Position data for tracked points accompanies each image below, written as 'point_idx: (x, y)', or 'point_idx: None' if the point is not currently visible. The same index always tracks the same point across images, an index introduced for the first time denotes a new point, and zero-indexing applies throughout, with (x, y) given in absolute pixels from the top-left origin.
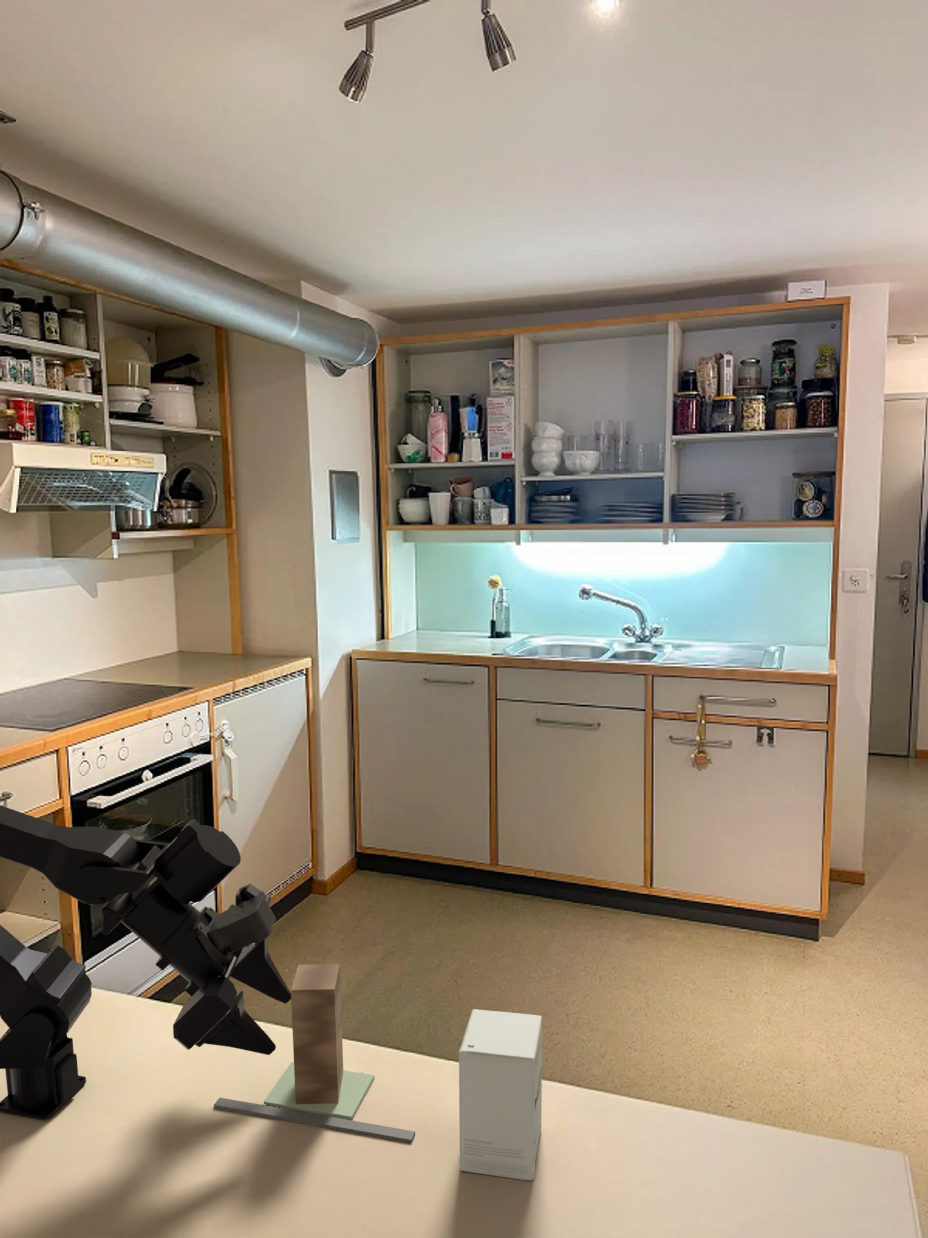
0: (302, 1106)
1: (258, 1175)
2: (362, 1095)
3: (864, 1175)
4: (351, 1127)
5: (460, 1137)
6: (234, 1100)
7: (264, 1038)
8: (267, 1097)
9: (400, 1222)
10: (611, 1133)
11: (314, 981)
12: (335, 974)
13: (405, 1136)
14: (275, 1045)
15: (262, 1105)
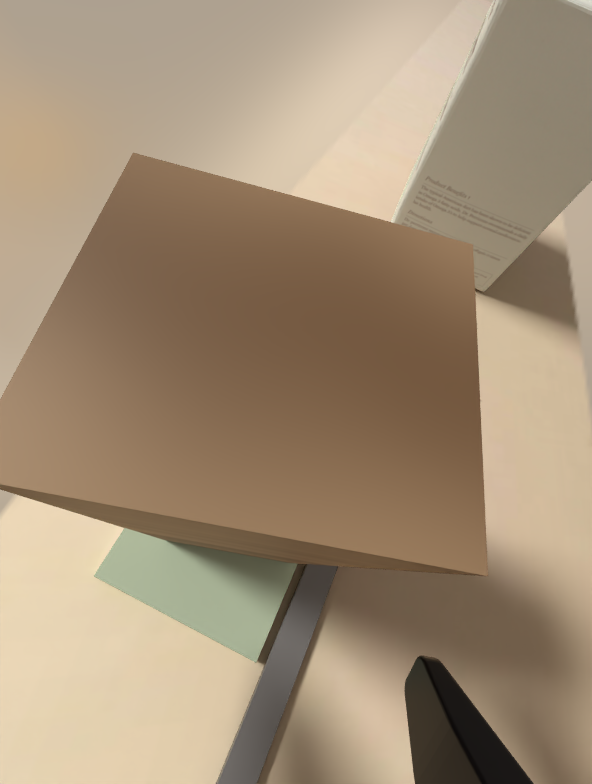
0: None
1: (494, 656)
2: None
3: (483, 12)
4: None
5: (523, 250)
6: (222, 774)
7: (507, 752)
8: (242, 651)
9: (577, 390)
10: (420, 125)
11: (363, 348)
12: (282, 203)
13: None
14: (430, 660)
15: (269, 665)
